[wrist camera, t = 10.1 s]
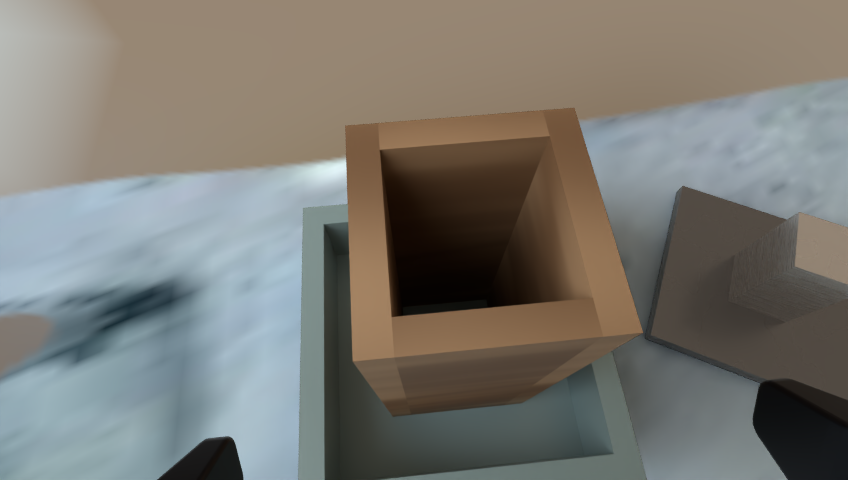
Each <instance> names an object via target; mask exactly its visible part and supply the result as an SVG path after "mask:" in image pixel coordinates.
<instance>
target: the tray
mask: <svg viewBox="0 0 848 480" xmlns="http://www.w3.org/2000/svg"><path fill="white" fill-rule="evenodd" d="M402 308H403V316H409V315H419V314H430V313H440V312H450V311H461V310H471V309H482V308H488V305H487V299H484V300H474V301H463V302H453V303H442V304H432V305H421V306H411V307H402ZM298 480H647V478H646V474H645V471H644V467H643V463H642V460H641V456H640V452H639V449H638V445H637V441H636V438H635V434H634V430H633V426H632V423H631V419H630V415H629V412H628V408H627V404H626V401H625V397H624V393H623V390H622V386H621V382H620V378H619V375H618V371H617V367H616V364H615V360H614V356H613V353H612V351H611V352H609V353H607V354H606V355H604V356H602V357H601V358H599V359H597V360H595V361H594V362H592V363H590V364H588V365H587V366H585V367H583V368H582V369H580V370H578V371H576V372H575V373H573V374H571V375H570V376H568V377H566V378H564V379H563V380H561V381H559V382H558V383H556V384H554V385H552V386H551V387H549V388H547V389H545V390H544V391H542V392H540V393H539V394H537V395H535V396H533V397H532V398H530V399H528V400H527V401H525V402H523V403H520V404H511V405H501V406H492V407H482V408H472V409H463V410H453V411H444V412H434V413H425V414H415V415H405V416H396V417H393V416H392V415H391V413H390V412H389V411H388V409H387V408H386V407H385V405H384V404H383V402H382V401H381V400H380V398H379V397H378V396H377V394H376V393H375V391H374V390H373V389H372V387H371V386H370V385H369V383H368V382H367V381H366V379H365V378H364V376H363V375H362V374H361V372H360V371H359V370H358V368H357V367H356V365H355V364H354V363H353V357H352V325H351V292H350V260H349V228H348V204H344V205H332V206H320V207H308V208H303V242H302V298H301V354H300V409H299V465H298Z"/></svg>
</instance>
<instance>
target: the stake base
mask: <svg viewBox="0 0 848 480" xmlns="http://www.w3.org/2000/svg"><path fill="white" fill-rule="evenodd" d="M645 339H648V340H650V341H653V342H655V343H658V344H661V345H663V346H666V347H668V348H671V349H674V350H676V351H679V352H681V353H684V354H686V355H689V356H692V357H694V358H697V359H699V360H702V361H705V362H707V363H710V364H712V365H715V366H717V367H720V368H723V369H725V370H728V371H730V372H733V373H736V374H738V375H741V376H743V377H746V378H748V379H751V380H754V381H756V382H759V383H762V382H763V381H765V380H771V379H780V378H789V379H793V380H796V381H798V382H801V383H804V384H806V385H809V386H812V387H814V388H817V389H820V390H823V391H825V392H828V393H831V394H833V395H836V396H839V397H842V398H844V399H847V400H848V228H847V227H844V226H841V225H838V224H835V223H832V222H829V221H826V220H823V219H820V218H816V217H813V216H810V215H807V214H804V213H801V212H798V213H797V214H795V215H794V216H792V217H791V218H789V219H788V220H786V219H782V218H779V217H776V216H773V215H770V214H767V213H764V212H761V211H758V210H755V209H752V208H749V207H746V206H743V205H740V204H737V203H734V202H730V201H727V200H724V199H721V198H718V197H715V196H712V195H709V194H706V193H703V192H700V191H697V190H694V189H691V188H688V187H685V186H682V187H681V188H680V189H679V190H678V192H677V193H676V198H675V203H674V207H673V212H672V216H671V221H670V225H669V230H668V235H667V239H666V244H665V248H664V253H663V257H662V262H661V267H660V271H659V276H658V280H657V285H656V289H655V294H654V299H653V303H652V308H651V312H650V317H649V321H648V326H647V331H646V335H645Z"/></svg>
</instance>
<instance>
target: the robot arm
mask: <svg viewBox="0 0 848 480" xmlns="http://www.w3.org/2000/svg"><path fill="white" fill-rule="evenodd" d="M753 426H754V429H755V431H756V433H757V435H758V437H759V438H760V440H761V441H762V442H763V444H764V445H765V447H766V448H767V450H768V451H769V453H770V454H771V456H772V457H773V459H774V460H775V462H776V463H777V465H778V466H779V467H780V469H781V470H782V472H783V473H784V475H785V476H786V478H787V479H788V480H848V400H847V399H844V398H842V397H839V396H836V395H833V394H831V393H828V392H825V391H823V390H820V389H817V388H814V387H812V386H809V385H806V384H804V383H801V382H798V381H796V380H793V379H789V378H780V379H771V380H765V381H763V382H762V383H761V384H760V386H759V389H758V394H757V399H756V404H755V408H754V413H753ZM157 480H243V472H242V469H241V465H240V461H239V457H238V453H237V449H236V445H235V442H234V440H233V439H232V438H231V437H229V436H225V437H216V438H208V439H205V440H204V441H202V442H201V443H200V444H199V445H197V446H196V447H195V448H194V449H193V450H191V451H190V452H189V453H188V454H187V455H186V456H184V457H183V458H182V459H181V460H180V461H179V462H177V463H176V464H175V465H174V466H173V467H171V468H170V469H169V470H168V471H167V472H166V473H164V474H163V475H162V476H161V477H160V478H159V479H157Z"/></svg>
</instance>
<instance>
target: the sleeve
mask: <svg viewBox="0 0 848 480" xmlns="http://www.w3.org/2000/svg"><path fill="white" fill-rule="evenodd" d="M345 128H346V129H345V131H346V163H347V196H348V228H349V260H350V292H351V325H352V357H353V363H354V364H355V365H356V367H357V368H358V370H359V371H360V372H361V374H362V375H363V376H364V378H365V379H366V381H367V382H368V383H369V385H370V386H371V387H372V389H373V390H374V391H375V393H376V394H377V396H378V397H379V398H380V400H381V401H382V402H383V404H384V405H385V407H386V408H387V409H388V411H389V412H390V413H391V415H392V416H393V417H396V416H405V415H415V414H425V413H434V412H444V411H453V410H463V409H472V408H482V407H492V406H501V405H511V404H520V403H523V402H525V401H527V400H528V399H530V398H532V397H533V396H535V395H537V394H539V393H540V392H542V391H544V390H545V389H547V388H549V387H551V386H552V385H554V384H556V383H558V382H559V381H561V380H563V379H564V378H566V377H568V376H570V375H571V374H573V373H575V372H576V371H578V370H580V369H582V368H583V367H585V366H587V365H588V364H590V363H592V362H594V361H595V360H597V359H599V358H601V357H602V356H604V355H606V354H607V353H609V352H611V351H613V350H614V349H616V348H618V347H619V346H621V345H623V344H625V343H626V342H628V341H630V340H631V339H633V338H635V337H637V336H638V335H640V334H642V333H643V331H642V327H641V324H640V321H639V318H638V314H637V311H636V308H635V305H634V301H633V298H632V295H631V292H630V288H629V285H628V282H627V278H626V275H625V272H624V269H623V265H622V262H621V259H620V256H619V252H618V249H617V246H616V242H615V239H614V236H613V233H612V229H611V226H610V223H609V220H608V216H607V213H606V210H605V207H604V203H603V200H602V197H601V193H600V190H599V187H598V184H597V180H596V177H595V174H594V171H593V167H592V164H591V161H590V157H589V154H588V151H587V148H586V144H585V141H584V138H583V135H582V131H581V128H580V125H579V121H578V118H577V115H576V112H575V108H566V109H554V110H540V111H527V112H514V113H502V114H490V115H476V116H464V117H451V118H438V119H425V120H412V121H399V122H386V123H375V124H362V125H348V126H345ZM484 299H487V305H488V308H482V309H471V310H461V311H450V312H440V313H430V314H419V315H409V316H403V308H402V307H411V306H421V305H432V304H442V303H453V302H463V301H474V300H484Z"/></svg>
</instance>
